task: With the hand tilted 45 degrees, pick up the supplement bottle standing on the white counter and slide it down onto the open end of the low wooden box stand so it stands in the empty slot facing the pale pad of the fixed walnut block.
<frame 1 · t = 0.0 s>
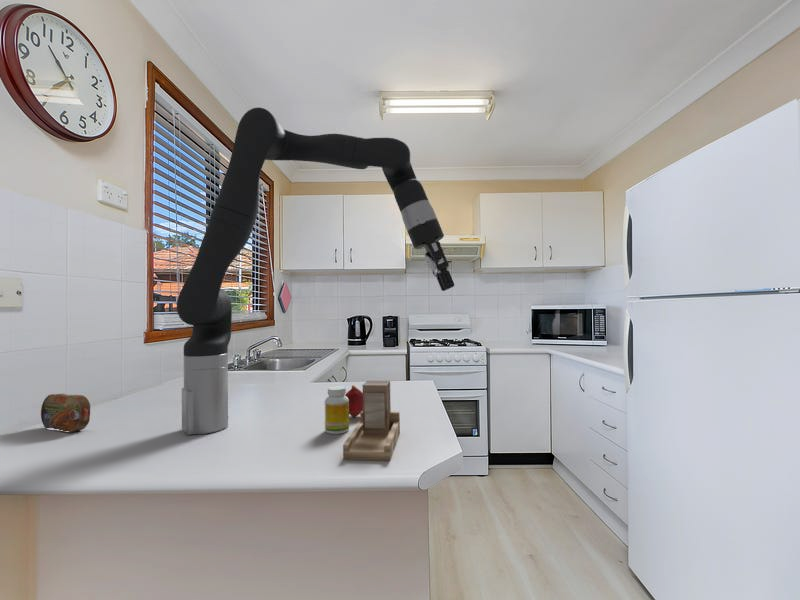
hand: (448, 288, 90), 31 cm above the table, tool tilted 20°, fingers open, 8 cm apart
wooden box stand: (374, 444, 78), on the table
supplement bottle: (337, 431, 87), on the table
onion: (354, 417, 98), on the table
tin: (65, 430, 92), on the table
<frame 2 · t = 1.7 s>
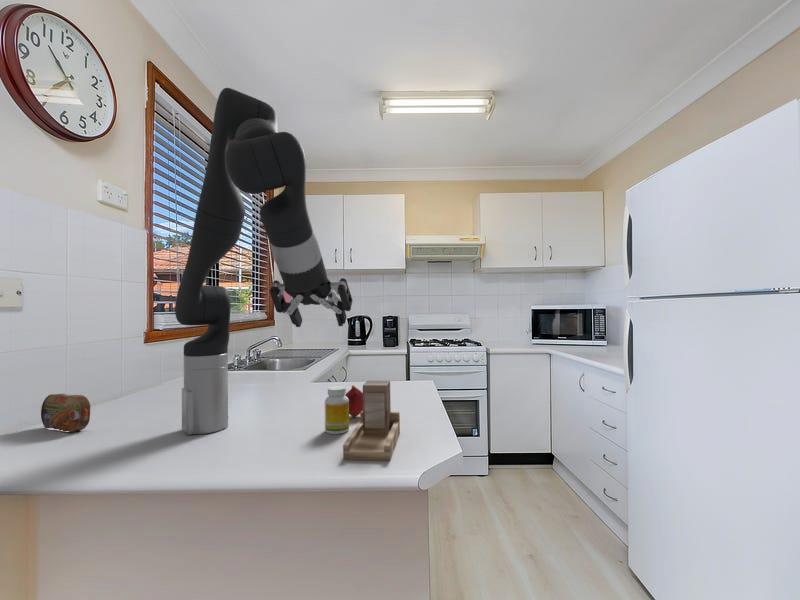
hand: (320, 323, 77), 24 cm above the table, tool tilted 45°, fingers open, 8 cm apart
nothing on the table moved.
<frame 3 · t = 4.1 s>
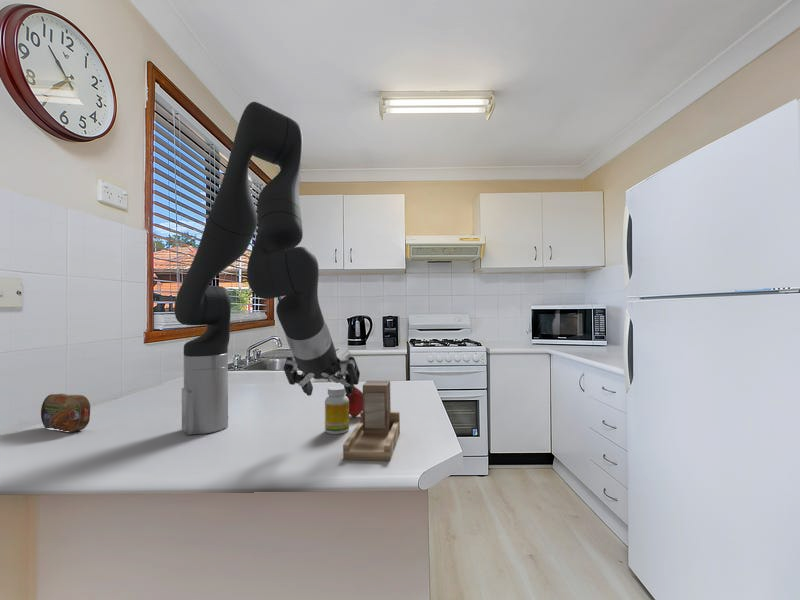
hand: (329, 392, 82), 10 cm above the table, tool tilted 45°, fingers open, 8 cm apart
nothing on the table moved.
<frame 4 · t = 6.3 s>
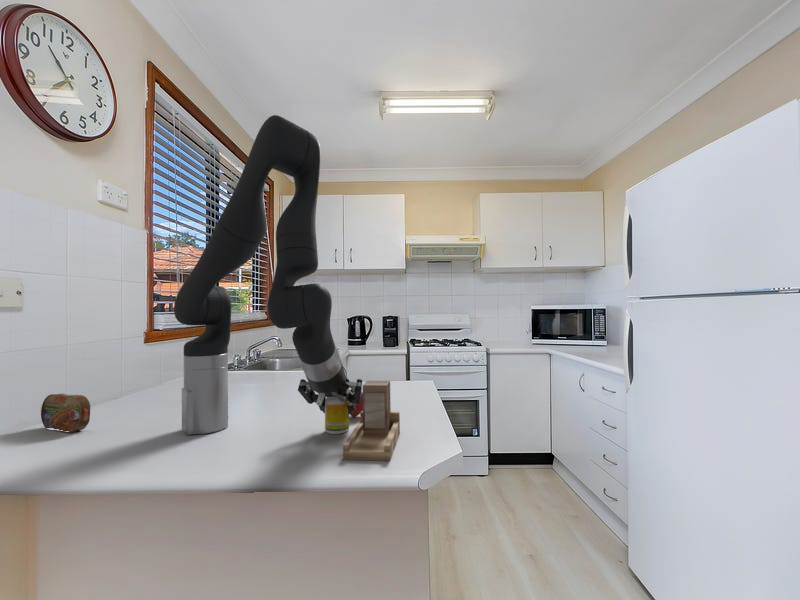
hand: (339, 409, 89), 4 cm above the table, tool tilted 45°, fingers closed on supplement bottle, 5 cm apart
supplement bottle: (337, 431, 87), on the table, touching gripper
everything else where it was.
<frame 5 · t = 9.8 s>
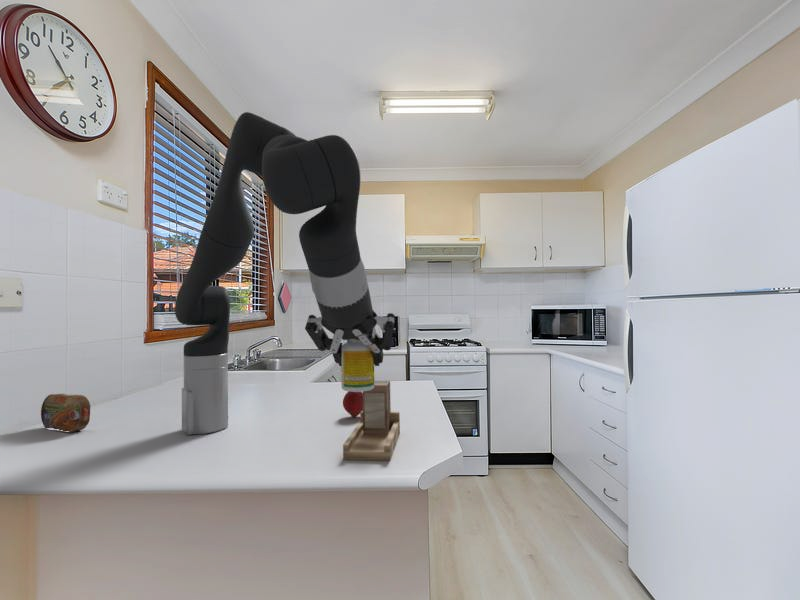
hand: (360, 361, 66), 18 cm above the table, tool tilted 45°, fingers closed on supplement bottle, 5 cm apart
supplement bottle: (358, 390, 64), point 14 cm above the table, touching gripper
everything else where it was.
when the fingers open (6 cm above the table, at t = 13.2 s): supplement bottle stays where it is, resting on wooden box stand.
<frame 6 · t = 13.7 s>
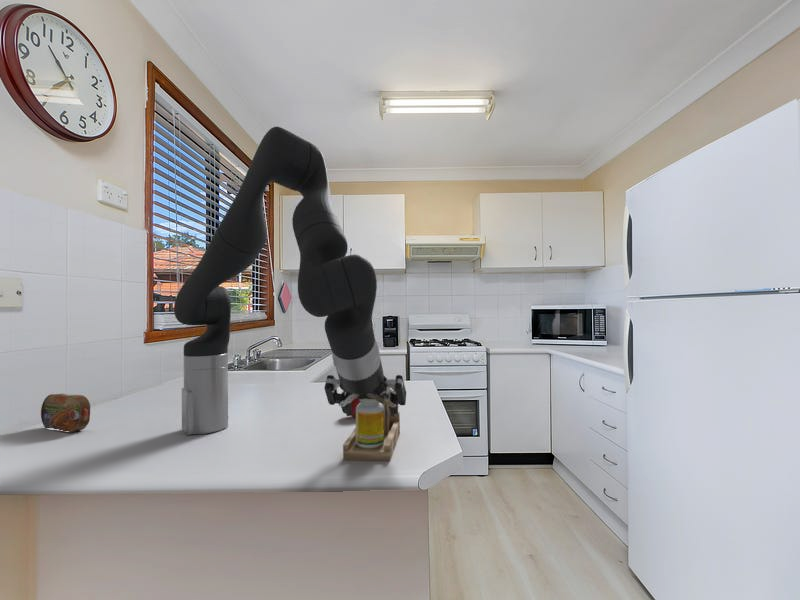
hand: (371, 412, 75), 7 cm above the table, tool tilted 45°, fingers open, 8 cm apart
supplement bottle: (370, 445, 74), point 1 cm above the table, touching wooden box stand
everything else where it was.
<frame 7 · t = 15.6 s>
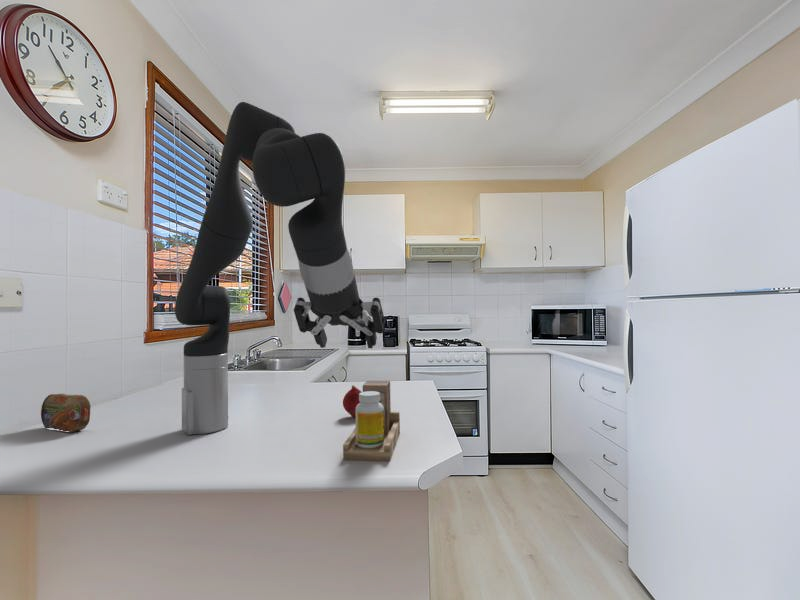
hand: (347, 344, 69), 21 cm above the table, tool tilted 45°, fingers open, 8 cm apart
nothing on the table moved.
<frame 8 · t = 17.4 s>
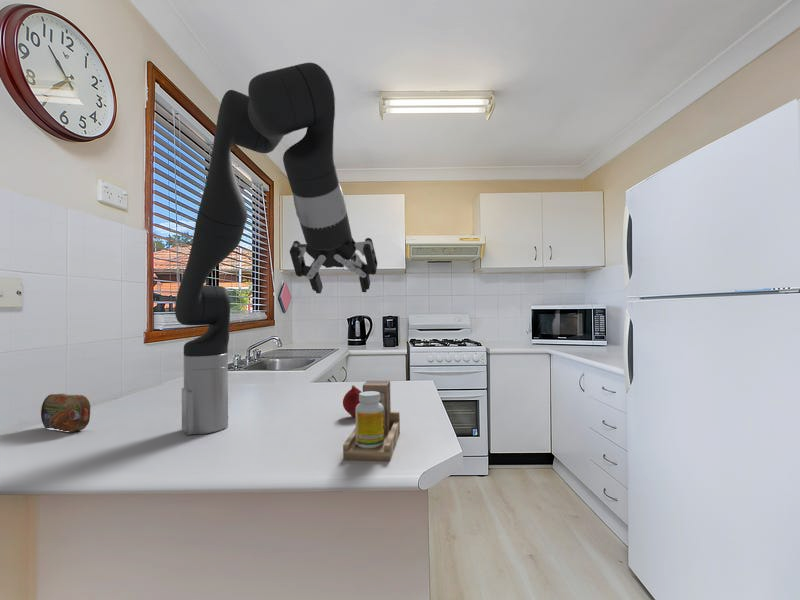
hand: (342, 289, 72), 31 cm above the table, tool tilted 45°, fingers open, 8 cm apart
nothing on the table moved.
at the end: supplement bottle inside the target area (0.2 cm from its centre), point 1.3 cm above the table; supplement bottle tilted 0°; the gripper is holding nothing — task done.
